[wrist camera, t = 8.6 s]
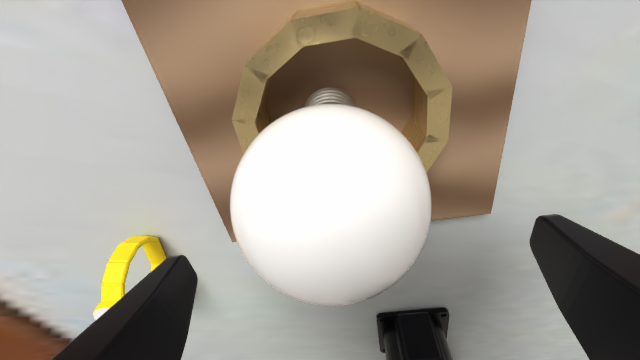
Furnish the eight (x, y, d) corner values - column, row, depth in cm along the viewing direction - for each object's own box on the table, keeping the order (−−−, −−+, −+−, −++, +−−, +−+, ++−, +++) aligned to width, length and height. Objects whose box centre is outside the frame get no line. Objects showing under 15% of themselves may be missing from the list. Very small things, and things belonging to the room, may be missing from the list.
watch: (183, 270, 27) (154, 342, 22) (151, 270, 27) (115, 342, 22) (160, 221, 23) (118, 296, 18) (123, 222, 23) (71, 296, 18)
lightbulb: (304, 172, 19) (282, 362, 10) (247, 79, 16) (140, 241, 7) (405, 133, 17) (483, 321, 8) (364, 19, 14) (423, 133, 5)
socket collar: (428, 169, 19) (443, 199, 16) (274, 188, 20) (266, 220, 17) (434, -16, 13) (459, -12, 11) (223, 24, 14) (202, 36, 12)
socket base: (484, 204, 21) (490, 213, 21) (235, 232, 23) (232, 242, 23) (548, -172, 11) (566, -183, 11) (103, -69, 13) (88, -71, 12)
